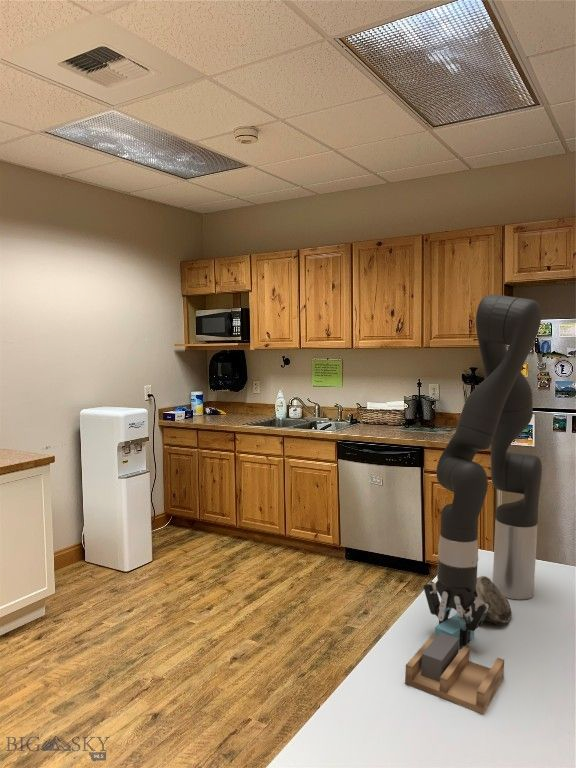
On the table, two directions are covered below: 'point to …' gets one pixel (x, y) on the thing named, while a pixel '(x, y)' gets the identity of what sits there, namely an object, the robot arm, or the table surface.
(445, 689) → the block
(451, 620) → the tall teal pillar
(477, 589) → the brown rock
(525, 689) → the table surface
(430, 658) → the dark gray block
